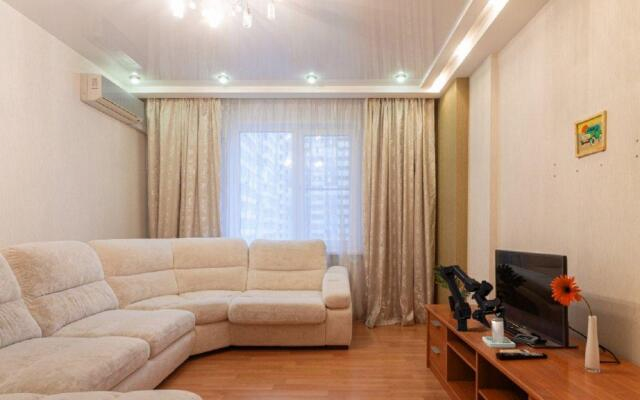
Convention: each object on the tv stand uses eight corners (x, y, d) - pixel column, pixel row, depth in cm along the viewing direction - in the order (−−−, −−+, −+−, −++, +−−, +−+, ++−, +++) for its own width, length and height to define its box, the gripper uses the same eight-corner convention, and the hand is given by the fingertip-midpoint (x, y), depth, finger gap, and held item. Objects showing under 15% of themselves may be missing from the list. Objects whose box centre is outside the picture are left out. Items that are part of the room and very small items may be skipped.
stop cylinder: (493, 340, 201) (492, 316, 201) (505, 342, 197) (503, 317, 198) (491, 343, 196) (490, 318, 197) (503, 345, 193) (501, 320, 194)
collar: (512, 341, 200) (512, 337, 200) (518, 337, 207) (518, 333, 207) (531, 345, 193) (531, 341, 194) (537, 341, 200) (537, 337, 200)
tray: (482, 340, 203) (482, 336, 203) (506, 340, 202) (506, 336, 202) (490, 347, 191) (489, 343, 191) (515, 348, 190) (515, 343, 190)
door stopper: (503, 324, 234) (502, 304, 235) (514, 324, 233) (512, 304, 234) (507, 328, 226) (506, 307, 226) (518, 328, 224) (517, 307, 225)
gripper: (474, 294, 200) (489, 320, 189) (503, 291, 206) (521, 317, 194) (465, 306, 207) (479, 332, 196) (494, 303, 213) (510, 329, 201)
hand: (498, 327), depth 197 cm, fingers open, 9 cm apart
